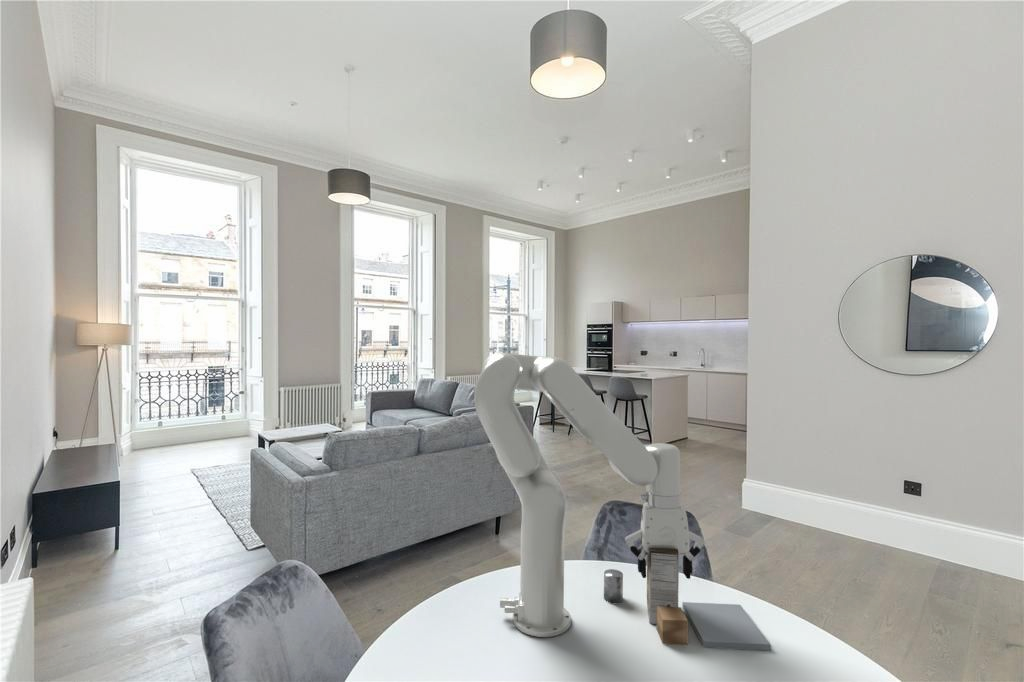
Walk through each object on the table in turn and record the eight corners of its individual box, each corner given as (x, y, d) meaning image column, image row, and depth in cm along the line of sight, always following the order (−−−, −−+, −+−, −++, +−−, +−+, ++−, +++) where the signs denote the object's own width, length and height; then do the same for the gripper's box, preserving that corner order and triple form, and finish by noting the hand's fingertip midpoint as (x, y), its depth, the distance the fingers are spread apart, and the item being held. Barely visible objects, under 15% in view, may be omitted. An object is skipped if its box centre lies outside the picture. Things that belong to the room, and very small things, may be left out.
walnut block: (662, 644, 98) (662, 619, 98) (656, 629, 103) (656, 606, 103) (687, 645, 98) (687, 620, 98) (680, 631, 103) (680, 607, 103)
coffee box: (645, 602, 114) (646, 534, 114) (674, 605, 113) (674, 536, 113) (648, 624, 105) (649, 549, 105) (679, 627, 104) (680, 552, 104)
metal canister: (605, 603, 113) (605, 578, 113) (602, 593, 118) (602, 568, 118) (624, 604, 113) (624, 578, 113) (620, 594, 118) (621, 569, 118)
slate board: (703, 647, 97) (703, 641, 97) (682, 607, 112) (682, 602, 112) (770, 650, 96) (770, 644, 96) (740, 609, 111) (740, 604, 111)
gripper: (627, 504, 106) (628, 583, 106) (708, 505, 105) (709, 584, 105) (621, 494, 114) (623, 567, 113) (697, 494, 112) (698, 568, 112)
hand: (664, 575), depth 109 cm, fingers open, 9 cm apart
